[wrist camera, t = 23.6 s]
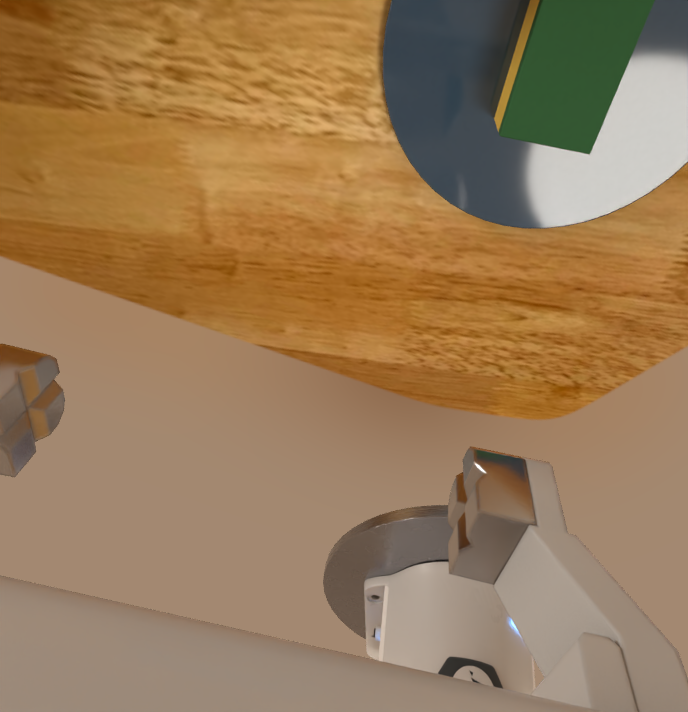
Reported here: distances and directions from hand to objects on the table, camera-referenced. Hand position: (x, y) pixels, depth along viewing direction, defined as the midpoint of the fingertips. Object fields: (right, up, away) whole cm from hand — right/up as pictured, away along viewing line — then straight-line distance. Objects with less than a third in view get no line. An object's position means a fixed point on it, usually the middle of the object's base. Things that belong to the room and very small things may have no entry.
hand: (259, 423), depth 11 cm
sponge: (+12, +16, +17) cm, 26 cm away
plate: (+13, +17, +17) cm, 27 cm away
